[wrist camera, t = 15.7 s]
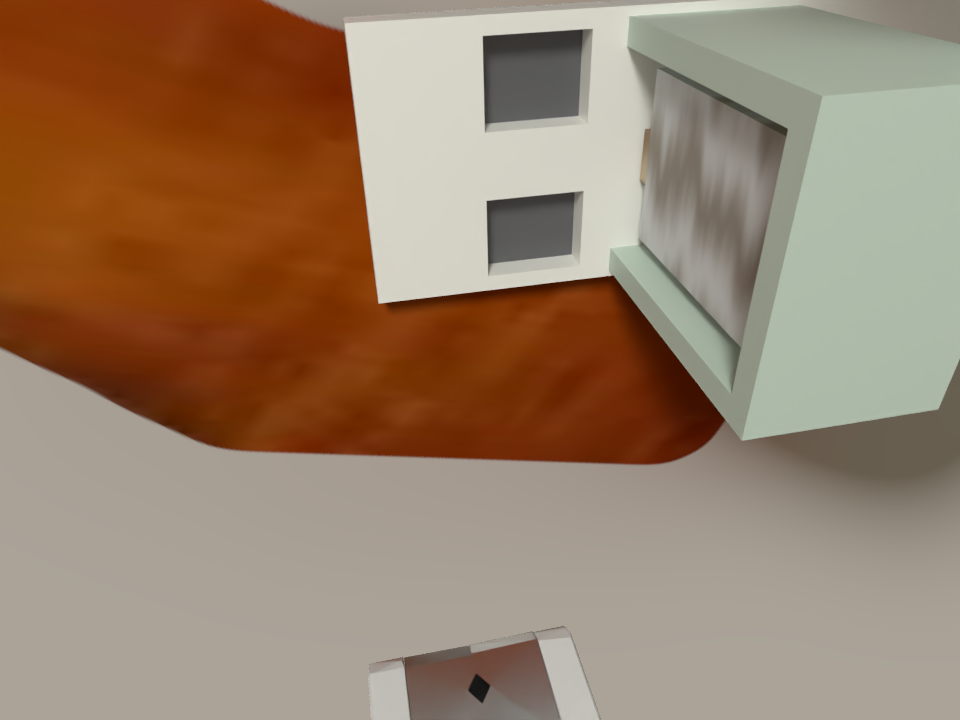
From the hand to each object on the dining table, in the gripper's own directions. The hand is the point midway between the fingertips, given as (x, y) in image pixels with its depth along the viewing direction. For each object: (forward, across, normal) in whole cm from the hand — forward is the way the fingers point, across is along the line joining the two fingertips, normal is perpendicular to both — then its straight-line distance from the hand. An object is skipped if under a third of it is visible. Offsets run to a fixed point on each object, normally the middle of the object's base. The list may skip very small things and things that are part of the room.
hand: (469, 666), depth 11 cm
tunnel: (+33, -20, +4) cm, 39 cm away
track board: (+35, -18, +4) cm, 40 cm away
